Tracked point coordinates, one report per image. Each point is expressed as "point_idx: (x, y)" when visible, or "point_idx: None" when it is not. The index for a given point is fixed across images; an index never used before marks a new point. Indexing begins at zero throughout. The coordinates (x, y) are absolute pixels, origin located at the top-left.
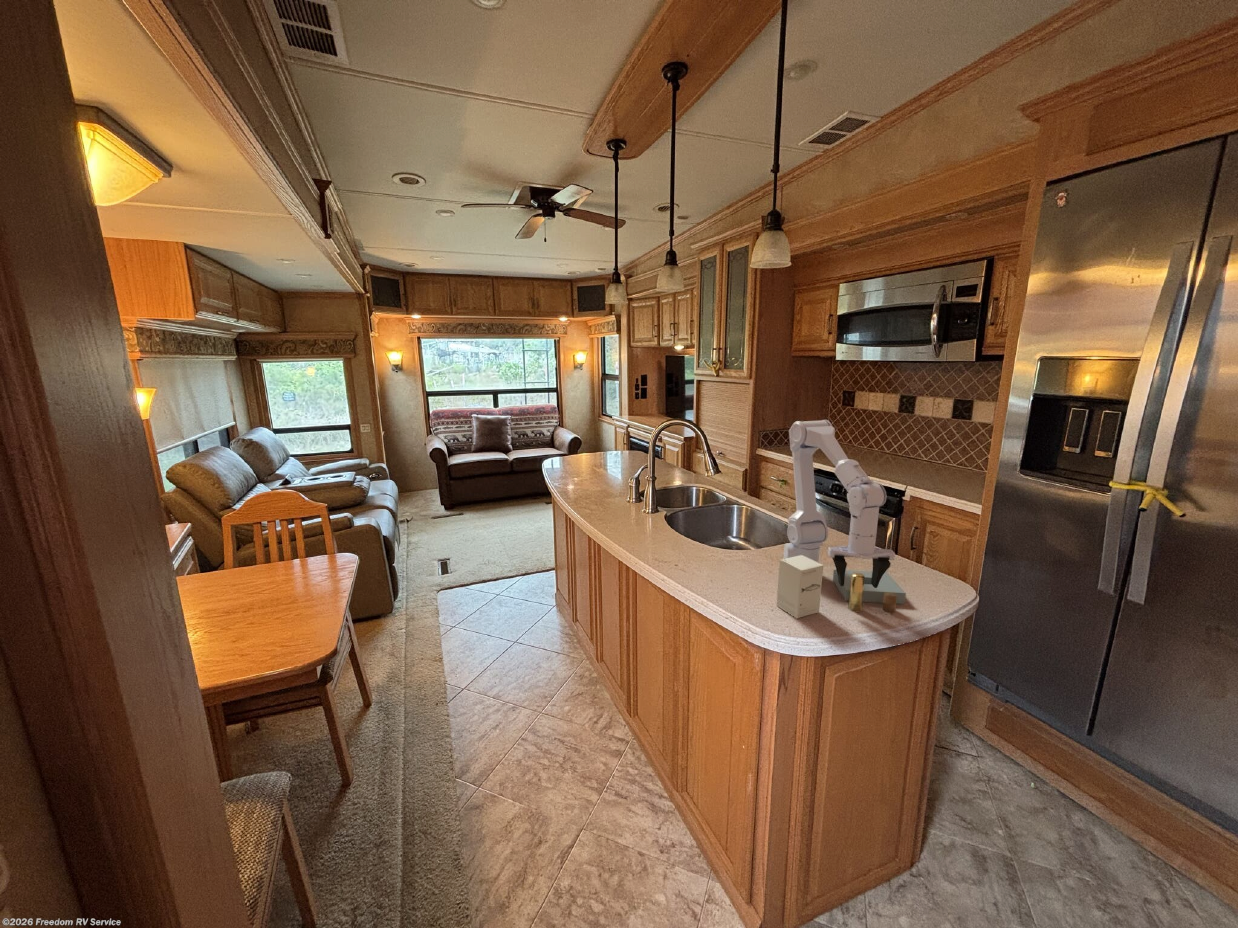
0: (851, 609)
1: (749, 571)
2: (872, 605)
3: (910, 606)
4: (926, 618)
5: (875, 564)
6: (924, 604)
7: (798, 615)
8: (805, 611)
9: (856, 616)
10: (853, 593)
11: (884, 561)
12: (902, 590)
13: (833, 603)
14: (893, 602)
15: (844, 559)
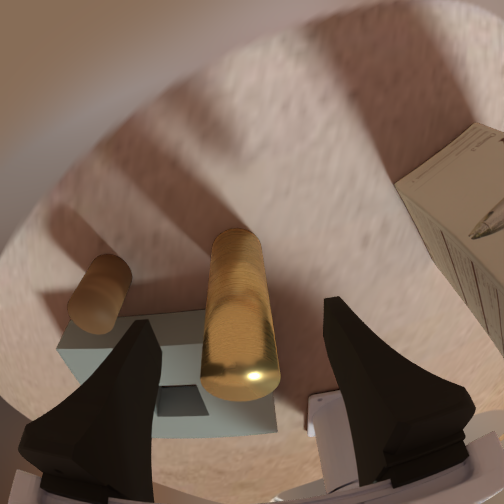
0: (254, 235)
1: (474, 367)
2: (164, 291)
3: (54, 309)
4: (11, 246)
5: (130, 455)
6: (28, 325)
7: (479, 126)
8: (461, 146)
9: (241, 185)
10: (258, 280)
11: (62, 471)
12: (67, 362)
13: (315, 270)
14: (83, 281)
15: (392, 459)
